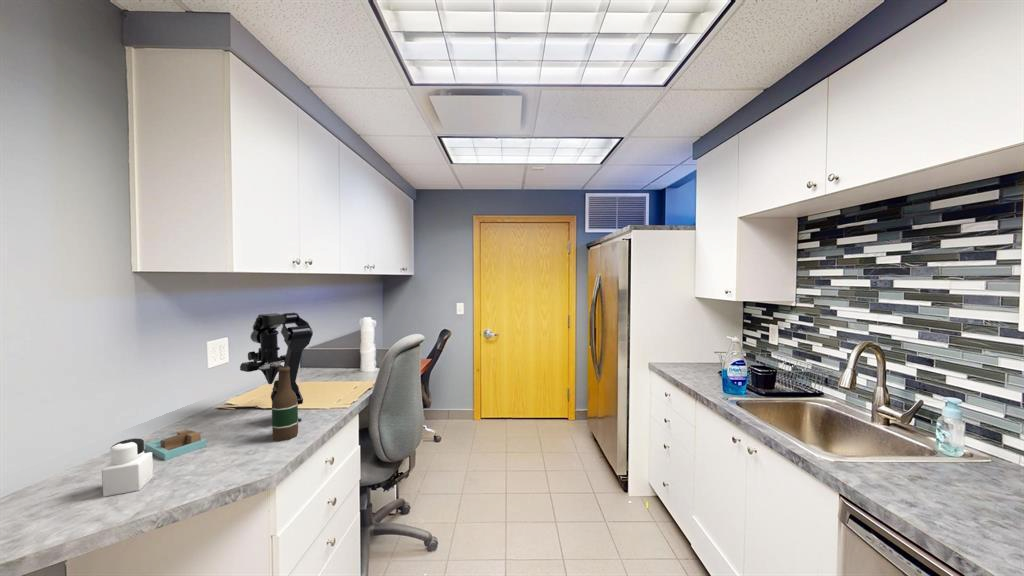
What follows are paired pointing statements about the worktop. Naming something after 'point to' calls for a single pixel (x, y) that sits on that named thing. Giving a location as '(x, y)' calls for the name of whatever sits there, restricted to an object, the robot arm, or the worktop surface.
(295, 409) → the beer bottle
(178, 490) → the worktop surface
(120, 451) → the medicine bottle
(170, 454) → the jig
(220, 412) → the worktop surface
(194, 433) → the t block
